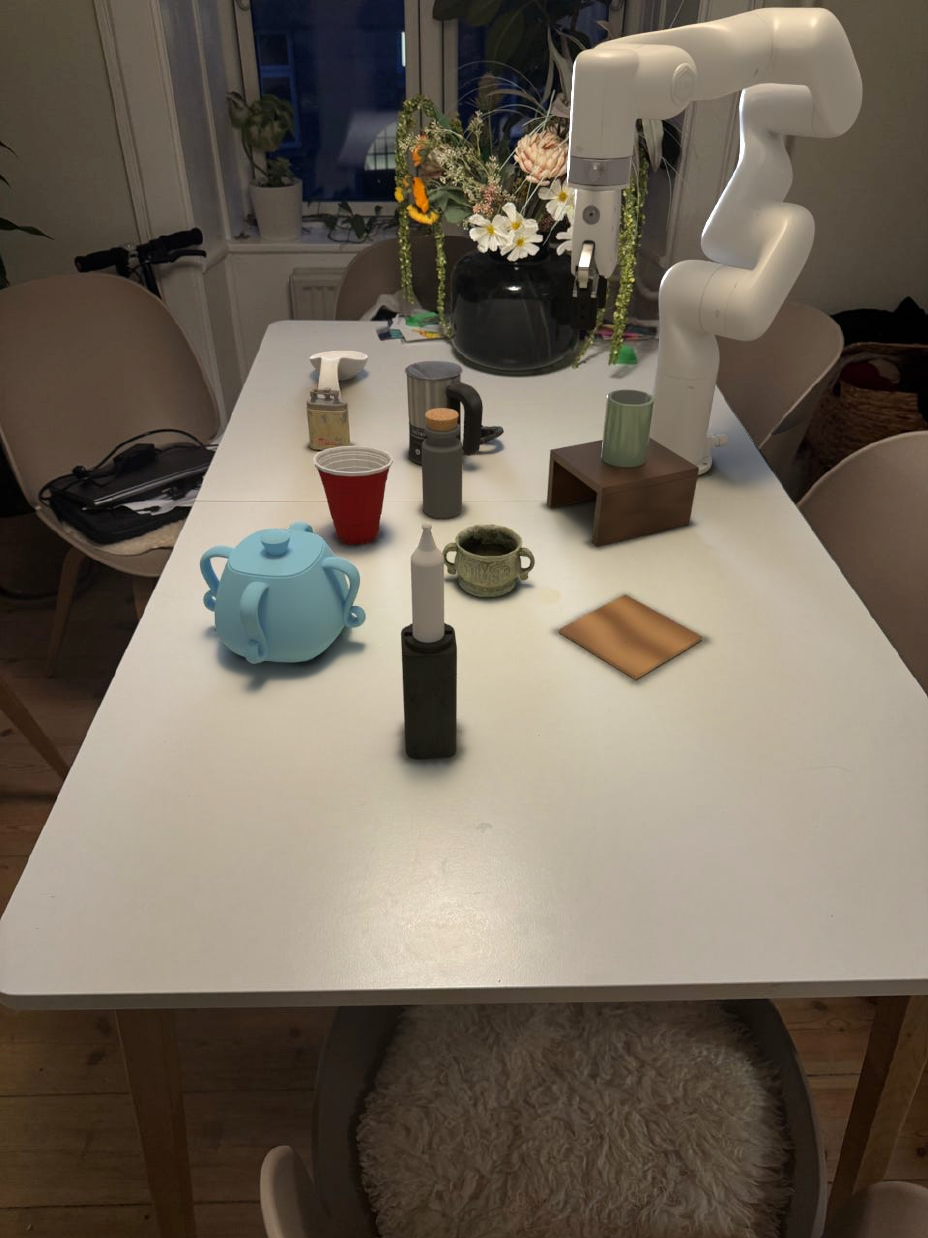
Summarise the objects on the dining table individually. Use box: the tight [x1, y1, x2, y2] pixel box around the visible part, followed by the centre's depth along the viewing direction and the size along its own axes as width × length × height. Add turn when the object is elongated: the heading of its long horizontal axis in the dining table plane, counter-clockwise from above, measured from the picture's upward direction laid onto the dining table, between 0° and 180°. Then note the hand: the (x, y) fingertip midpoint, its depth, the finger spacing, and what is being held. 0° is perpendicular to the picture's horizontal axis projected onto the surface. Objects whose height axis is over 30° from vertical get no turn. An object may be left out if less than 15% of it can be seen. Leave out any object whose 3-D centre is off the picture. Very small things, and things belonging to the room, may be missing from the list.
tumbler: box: [601, 389, 654, 468], centre depth 123 cm, size 6×6×9 cm
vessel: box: [441, 524, 536, 598], centre depth 113 cm, size 12×9×6 cm
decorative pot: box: [199, 521, 367, 665], centre depth 100 cm, size 16×16×14 cm
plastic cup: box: [312, 445, 394, 546], centre depth 121 cm, size 11×11×12 cm
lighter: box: [306, 387, 352, 451], centre depth 147 cm, size 7×4×10 cm, turn 82°
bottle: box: [421, 408, 463, 520], centre depth 127 cm, size 6×6×15 cm
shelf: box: [546, 437, 699, 547], centre depth 128 cm, size 16×14×9 cm
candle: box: [400, 521, 458, 760], centre depth 82 cm, size 5×5×25 cm
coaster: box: [558, 594, 703, 681], centre depth 105 cm, size 12×12×1 cm
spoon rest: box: [309, 350, 369, 399], centre depth 173 cm, size 24×12×7 cm, turn 1°
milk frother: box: [404, 360, 505, 465], centre depth 145 cm, size 14×16×15 cm
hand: (588, 317), depth 114 cm, fingers open, 9 cm apart
